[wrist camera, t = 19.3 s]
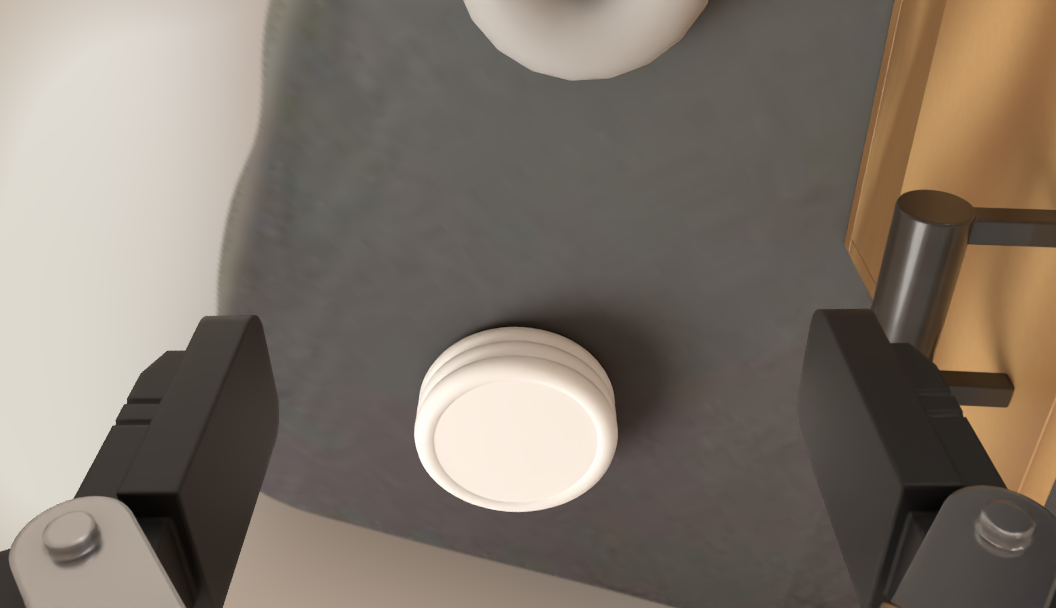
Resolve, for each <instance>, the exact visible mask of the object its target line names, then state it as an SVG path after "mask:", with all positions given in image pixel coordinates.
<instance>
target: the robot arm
mask: <svg viewBox="0 0 1056 608" xmlns="http://www.w3.org/2000/svg"><path fill="white" fill-rule="evenodd" d="M797 417H798V425H799V430H800V434H801V437H802V440H803V443H804V446H805V449H806V451H807V454H808V457H809V460H810V463H811V466H812V468H813V471H814V474H815V477H816V480H817V483H818V485H819V488H820V491H821V494H822V497H823V500H824V503H825V505H826V508H827V511H828V514H829V517H830V520H831V522H832V525H833V528H834V531H835V534H836V537H837V539H838V542H839V545H840V548H841V551H842V554H843V557H844V559H845V562H846V565H847V568H848V571H849V574H850V576H851V579H852V582H853V585H854V588H855V591H856V593H857V596H858V599H859V602H860V605H861V608H1056V517H1055V516H1054V515H1053V514H1052V513H1051V512H1050V511H1049V510H1047V509H1046V508H1045V507H1043V506H1042V505H1041V504H1039V503H1038V502H1036V501H1034V500H1033V499H1031V498H1029V497H1027V496H1025V495H1023V494H1020V493H1018V492H1015V491H1012V490H1009V489H1008V488H1007V487H1006V485H1005V483H1004V482H1003V480H1002V478H1001V476H1000V475H999V473H998V471H997V469H996V468H995V466H994V464H993V462H992V461H991V459H990V457H989V456H988V454H987V452H986V450H985V449H984V447H983V445H982V443H981V442H980V440H979V438H978V436H977V435H976V433H975V431H974V430H973V428H972V426H971V424H970V423H969V421H968V419H967V417H963V410H962V409H961V407H960V405H959V404H958V402H957V400H956V398H955V397H954V396H951V390H950V388H949V386H948V385H947V383H946V381H945V379H944V378H943V376H942V374H941V372H940V371H939V369H938V367H937V365H936V364H934V363H933V362H932V361H931V360H929V359H928V358H927V357H926V356H924V355H923V354H922V353H921V352H919V351H918V350H917V349H916V348H915V347H913V346H912V345H911V344H910V343H890V342H889V340H888V338H887V336H886V334H885V332H884V330H883V328H882V327H881V325H880V323H879V321H878V319H877V317H876V315H875V314H874V312H873V311H872V310H871V309H818V310H816V311H815V313H814V315H813V317H812V320H811V324H810V330H809V335H808V340H807V346H806V351H805V356H804V362H803V367H802V372H801V378H800V383H799V388H798V395H797ZM278 425H279V403H278V396H277V391H276V386H275V382H274V377H273V372H272V368H271V363H270V358H269V353H268V349H267V344H266V339H265V335H264V330H263V326H262V323H261V321H260V319H259V317H258V316H256V315H250V316H205V317H203V318H202V319H201V321H200V322H199V324H198V326H197V328H196V330H195V332H194V334H193V337H192V338H191V341H190V343H189V345H188V347H187V349H186V351H166V352H165V353H164V354H163V355H162V356H161V357H159V358H158V359H157V360H156V361H155V362H154V363H152V364H151V365H150V366H149V367H148V368H147V369H146V370H144V371H143V372H142V373H141V374H140V376H139V378H138V380H137V381H136V383H135V385H134V387H133V389H132V391H131V393H130V394H129V396H128V398H127V404H125V405H124V406H123V408H122V409H121V412H120V413H119V415H118V417H117V419H116V425H115V426H112V428H111V430H110V432H109V434H108V435H107V437H106V440H105V441H104V443H103V445H102V447H101V449H100V450H99V452H98V454H97V456H96V458H95V460H94V462H93V464H92V465H91V467H90V469H89V471H88V473H87V475H86V477H85V479H84V480H83V482H82V484H81V486H80V488H79V490H78V492H77V493H76V495H75V497H74V499H72V500H68V501H65V502H63V503H60V504H57V505H55V506H53V507H51V508H49V509H47V510H46V511H44V512H42V513H41V514H39V515H38V516H36V517H35V518H34V519H32V520H31V521H30V522H29V523H28V524H27V525H26V526H25V527H24V528H23V529H22V530H21V531H20V532H19V534H18V535H17V536H16V538H15V540H14V542H13V543H12V545H11V548H10V549H8V550H5V551H1V552H0V608H223V605H224V601H225V598H226V595H227V592H228V589H229V586H230V583H231V580H232V577H233V573H234V570H235V567H236V564H237V561H238V558H239V555H240V551H241V548H242V545H243V542H244V539H245V536H246V533H247V530H248V526H249V523H250V520H251V516H252V514H253V510H254V507H255V504H256V501H257V498H258V495H259V492H260V489H261V486H262V482H263V479H264V476H265V473H266V470H267V467H268V464H269V460H270V457H271V454H272V451H273V448H274V445H275V442H276V438H277V433H278Z"/></svg>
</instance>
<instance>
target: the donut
mask: <svg viewBox="0 0 1056 608" xmlns="http://www.w3.org/2000/svg"><path fill="white" fill-rule="evenodd" d="M708 1H709V0H464V3H465V5H466V7H467V9H468V12H469V14H470V16H471V19H472V20H473V21H474V23H475V24H476V25H477V26H478V27H479V28H480V29H481V31H482V32H483V33H484V34H485V35H486V36H487V38H488V39H489V40H490V41H491V42H492V43H493V44H494V46H495V47H496V48H497V49H498V50H499V51H501V52H502V53H504V54H505V55H507V56H509V57H510V58H512V59H514V60H515V61H517V62H519V63H520V64H522V65H523V66H525V67H527V68H528V69H530V70H532V71H534V72H538V73H542V74H546V75H550V76H554V77H558V78H562V79H566V80H570V81H572V80H590V79H607V78H613V77H615V76H618V75H621V74H623V73H626V72H629V71H632V70H634V69H637V68H640V67H642V66H645V65H648V64H649V63H651V62H652V61H653V60H655V59H656V58H657V57H659V56H660V55H661V54H663V53H664V52H665V51H667V50H668V49H669V48H671V47H672V46H673V45H675V44H676V43H677V42H679V41H680V40H681V39H682V38H683V37H684V35H685V34H686V33H687V31H688V30H689V29H690V27H691V26H692V25H693V23H694V22H695V21H696V19H697V18H698V16H699V15H700V14H701V12H702V11H703V10H704V8H705V7H706V6H707V3H708Z"/></svg>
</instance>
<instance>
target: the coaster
mask: <svg viewBox="0 0 1056 608" xmlns="http://www.w3.org/2000/svg"><path fill="white" fill-rule="evenodd" d="M414 437H415V445H416V448H417V452H418V455H419V458H420V460H421V462H422V464H423V466H424V468H425V469H426V471H427V472H428V473H429V475H430V476H431V477H432V478H433V479H434V480H435V481H436V482H437V483H438V484H439V485H440V486H441V487H443V488H444V489H445V490H446V491H448V492H450V493H451V494H453V495H454V496H456V497H458V498H460V499H462V500H464V501H466V502H469V503H472V504H474V505H477V506H481V507H485V508H489V509H493V510H500V511H510V512H526V511H535V510H542V509H547V508H551V507H555V506H558V505H561V504H564V503H566V502H568V501H570V500H573V499H575V498H577V497H578V496H580V495H582V494H583V493H585V492H586V491H587V490H589V489H590V488H591V487H593V486H594V485H595V484H596V483H597V482H598V481H599V480H600V479H601V477H602V476H603V475H604V473H605V472H606V471H607V469H608V467H609V465H610V463H611V461H612V459H613V456H614V453H615V450H616V446H617V441H618V427H617V421H616V409H615V399H614V391H613V388H612V385H611V382H610V380H609V378H608V376H607V374H606V372H605V371H604V369H603V368H602V366H601V365H600V364H599V362H598V361H597V360H596V359H595V358H594V357H593V356H592V355H591V354H590V353H589V352H588V351H587V350H585V349H584V348H583V347H581V346H580V345H579V344H577V343H575V342H573V341H572V340H570V339H568V338H566V337H563V336H561V335H558V334H556V333H552V332H549V331H545V330H541V329H535V328H528V327H502V328H495V329H489V330H485V331H482V332H478V333H475V334H473V335H470V336H468V337H465V338H463V339H462V340H460V341H458V342H456V343H454V344H453V345H452V346H450V347H449V348H448V349H446V350H445V351H444V352H443V353H442V354H441V355H440V356H439V357H438V358H437V359H436V360H435V362H434V363H433V364H432V366H431V367H430V369H429V370H428V372H427V374H426V376H425V378H424V380H423V383H422V386H421V390H420V395H419V403H418V408H417V417H416V422H415V430H414Z"/></svg>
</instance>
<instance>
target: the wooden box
mask: <svg viewBox="0 0 1056 608" xmlns="http://www.w3.org/2000/svg"><path fill="white" fill-rule="evenodd" d="M946 1H947V0H895V1H894V6H893V11H892V16H891V20H890V25H889V30H888V35H887V40H886V45H885V49H884V54H883V59H882V64H881V69H880V74H879V78H878V83H877V88H876V93H875V98H874V103H873V107H872V112H871V117H870V122H869V127H868V132H867V136H866V141H865V146H864V151H863V156H862V161H861V165H860V170H859V175H858V180H857V185H856V190H855V194H854V199H853V204H852V209H851V214H850V219H849V223H848V228H847V233H846V238H845V243H844V245H845V247H846V249H847V251H848V253H849V255H850V257H851V259H852V261H853V263H854V265H855V267H856V268H857V270H858V272H859V274H860V276H861V278H862V280H863V282H864V284H865V286H866V288H867V290H868V292H869V294H870V296H871V298H872V300H873V297H874V293H875V289H876V285H877V280H878V276H879V272H880V268H881V263H882V259H883V255H884V251H885V246H886V242H887V238H888V234H889V230H890V225H891V221H892V217H893V213H894V208H895V204H896V201H897V199H898V198H899V197H900V194H901V190H902V186H903V182H904V177H905V173H906V169H907V165H908V161H909V156H910V152H911V148H912V144H913V140H914V135H915V131H916V127H917V123H918V119H919V114H920V110H921V106H922V102H923V98H924V93H925V89H926V85H927V81H928V77H929V72H930V68H931V64H932V60H933V56H934V51H935V47H936V43H937V39H938V35H939V30H940V26H941V22H942V18H943V14H944V9H945V5H946Z"/></svg>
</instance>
